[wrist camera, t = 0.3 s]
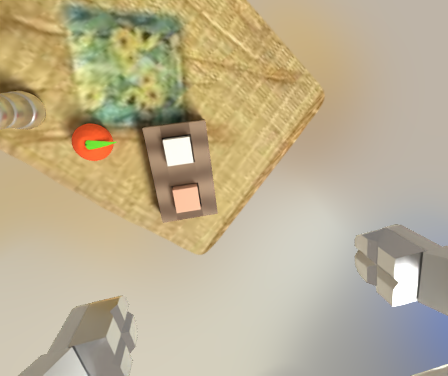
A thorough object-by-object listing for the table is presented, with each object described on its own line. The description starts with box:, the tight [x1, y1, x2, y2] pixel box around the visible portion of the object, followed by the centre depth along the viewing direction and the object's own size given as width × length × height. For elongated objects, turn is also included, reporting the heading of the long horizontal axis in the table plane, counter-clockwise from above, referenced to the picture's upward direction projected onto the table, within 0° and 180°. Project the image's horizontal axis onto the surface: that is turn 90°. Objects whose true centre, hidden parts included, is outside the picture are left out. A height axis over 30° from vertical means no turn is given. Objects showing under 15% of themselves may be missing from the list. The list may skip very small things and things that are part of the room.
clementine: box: [72, 123, 116, 161], centre depth 46 cm, size 8×7×7 cm
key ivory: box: [163, 135, 194, 166], centre depth 48 cm, size 5×5×3 cm
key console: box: [142, 119, 217, 223], centre depth 52 cm, size 20×12×4 cm, turn 6°
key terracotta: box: [172, 183, 201, 213], centre depth 51 cm, size 5×5×3 cm
